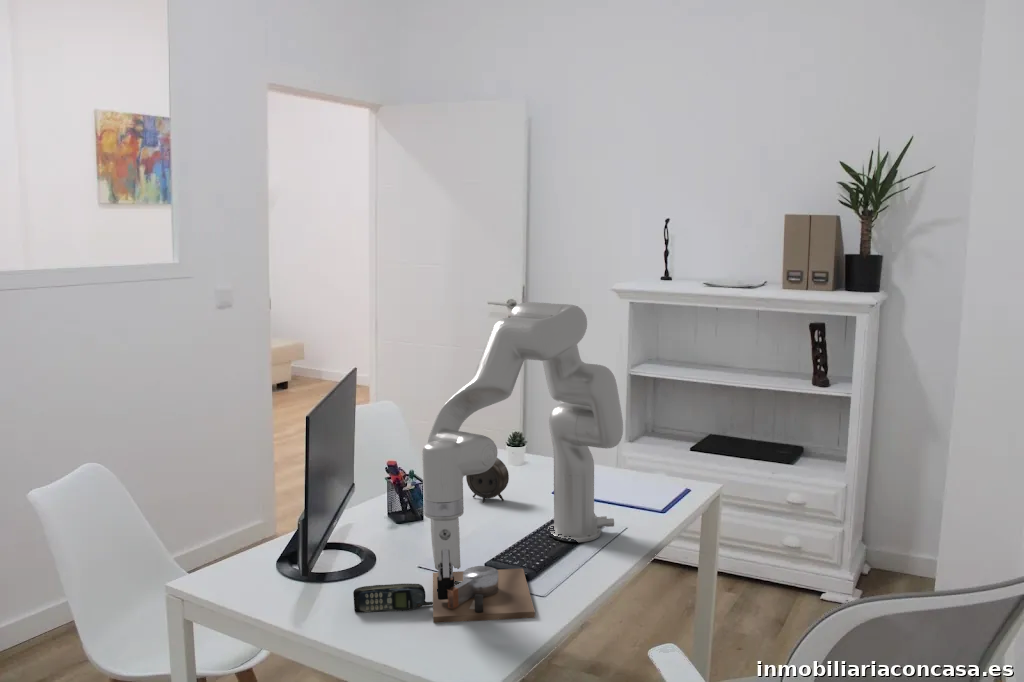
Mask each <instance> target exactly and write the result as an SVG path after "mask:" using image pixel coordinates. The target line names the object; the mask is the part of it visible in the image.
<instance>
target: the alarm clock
mask: <svg viewBox="0 0 1024 682" xmlns="http://www.w3.org/2000/svg"><path fill="white" fill-rule="evenodd" d="M465 478H466V479H465V480H466V483H467V486H468V488H469V489H470V491H471V492H472V493H473V495H472V498H473V499H474V498H475V497H476V496H477V497H479V498H482V503H486V499H492V498H496V497H497V496H498V498H499V499H501V501H502V502H504V501H505V499H504V498H503V496H502V494H501V493H502V492H503V491H504V490H505V489H506V488H507V486H508V484H509V480H510V479H509V478H510V475H509V470H508V469H507V467H506V464H505V463H504V462H503V460H501V459H500V458H498V457H497V459H496V461H495V463H494V465H493V466H492V467H491V468H490V469H489V470H487V471H485V472H483V473H479V474H472V475H466V476H465Z"/></svg>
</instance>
